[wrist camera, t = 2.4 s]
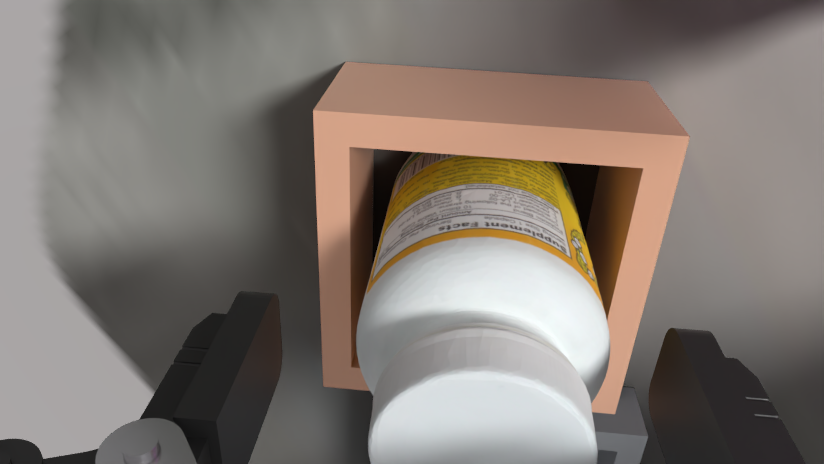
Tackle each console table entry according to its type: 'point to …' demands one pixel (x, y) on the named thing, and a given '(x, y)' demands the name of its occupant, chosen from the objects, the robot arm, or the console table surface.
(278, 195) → the console table surface
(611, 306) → the holder cup
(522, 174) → the supplement bottle
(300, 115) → the console table surface
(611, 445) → the tray
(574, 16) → the console table surface
